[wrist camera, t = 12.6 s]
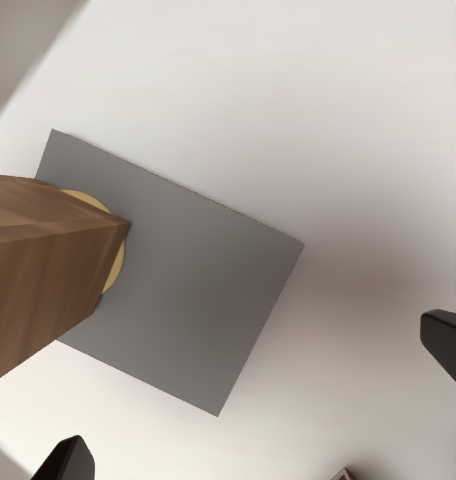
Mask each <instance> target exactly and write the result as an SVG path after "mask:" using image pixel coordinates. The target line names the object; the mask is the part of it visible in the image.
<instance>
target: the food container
mask: <svg viewBox="0 0 456 480" xmlns="http://www.w3.org/2000/svg"><path fill="white" fill-rule="evenodd" d="M332 480H356V479H355V477H354V476H353V475H352V474H351V473H350V472H349V471H348V470H347V469H346V468H343V469H342V470H341V471H340V472H339V473H338V474H337V475H336V476H335V477H334V478H333V479H332Z"/></svg>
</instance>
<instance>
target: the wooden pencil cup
mask: <svg viewBox="0 0 456 480" xmlns="http://www.w3.org/2000/svg"><path fill="white" fill-rule="evenodd" d="M129 225H130V222H127V221H125V220H123V219H121V218H119V217H117V216H115V215H112V214H110V213H108V212H106V211H104V210H102V209H100V208H97V207H95V206H93V205H91V204H89V203H87V202H85V201H83V200H80V199H78V198H76V197H74V196H72V195H70V194H68V193H65V192H63V191H61V190H59V189H57V188H55V187H53V186H50V185H48V184H46V183H44V182H42V181H40V180H38V179H32V178H23V177H15V176H6V175H0V378H1V377H2V376H4V375H5V374H6V373H8V372H9V371H11V370H12V369H14V368H15V367H17V366H18V365H20V364H21V363H22V362H24V361H25V360H27V359H28V358H30V357H31V356H33V355H34V354H35V353H37V352H38V351H40V350H41V349H43V348H44V347H46V346H47V345H49V344H50V343H51V342H53V341H54V340H56V339H57V338H59V337H60V336H62V335H63V334H64V333H66V332H67V331H69V330H70V329H72V328H73V327H75V326H76V325H78V324H79V323H80V322H82V321H83V320H85V319H86V318H88V317H89V316H91V315H92V314H94V311H95V309H96V306H97V304H98V301H99V299H100V296H101V294H102V291H103V289H104V287H105V284H106V282H107V279H108V277H109V274H110V272H111V269H112V267H113V264H114V262H115V259H116V257H117V254H118V252H119V249H120V247H121V245H122V242H123V240H124V237H125V235H126V232H127V230H128V227H129Z"/></svg>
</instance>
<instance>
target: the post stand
mask: <svg viewBox="0 0 456 480" xmlns="http://www.w3.org/2000/svg"><path fill="white" fill-rule="evenodd" d="M35 179H38V180H40V181H42V182H44V183H46V184H48V185H50V186H53V187H55V188H57V189H59V190H61V191H63V192H65V193H68V194H70V195H72V196H74V197H76V198H78V199H80V200H83V201H85V202H87V203H89V204H91V205H93V206H95V207H97V208H100V209H102V210H104V211H106V212H108V213H110V214H112V215H115V216H117V217H119V218H121V219H123V220H125V221H127V222H130V225H129V227H128V230H127V232H126V235H125V237H124V240H123V242H122V245H121V247H120V249H119V252H118V254H117V257H116V259H115V262H114V264H113V267H112V269H111V272H110V274H109V277H108V279H107V282H106V284H105V287H104V289H103V291H102V294H101V296H100V299H99V301H98V304H97V306H96V309H95V311H94V314H92V315H91V316H89V317H88V318H86V319H85V320H83V321H82V322H80V323H79V324H78V325H76V326H75V327H73V328H72V329H70V330H69V331H67V332H66V333H64V334H63V335H62V336H60V337H59V338H57V339H56V340H58V341H60V342H62V343H64V344H66V345H68V346H70V347H72V348H74V349H77V350H79V351H81V352H83V353H85V354H87V355H89V356H91V357H93V358H95V359H97V360H100V361H102V362H104V363H106V364H108V365H110V366H112V367H114V368H116V369H118V370H120V371H123V372H125V373H127V374H129V375H131V376H133V377H135V378H137V379H139V380H141V381H143V382H145V383H148V384H150V385H152V386H154V387H156V388H158V389H160V390H162V391H164V392H166V393H168V394H171V395H173V396H175V397H177V398H179V399H181V400H183V401H185V402H187V403H189V404H191V405H193V406H196V407H198V408H200V409H202V410H204V411H206V412H208V413H210V414H212V415H214V416H216V417H218V416H219V414H220V412H221V410H222V408H223V406H224V404H225V402H226V400H227V398H228V396H229V394H230V392H231V390H232V388H233V386H234V384H235V382H236V380H237V378H238V376H239V374H240V372H241V370H242V368H243V366H244V364H245V362H246V360H247V358H248V356H249V354H250V352H251V350H252V348H253V346H254V344H255V342H256V340H257V338H258V336H259V334H260V332H261V330H262V328H263V326H264V324H265V322H266V320H267V318H268V316H269V314H270V312H271V310H272V308H273V306H274V304H275V302H276V300H277V298H278V296H279V294H280V292H281V290H282V288H283V286H284V284H285V282H286V280H287V278H288V276H289V274H290V272H291V270H292V268H293V266H294V264H295V262H296V260H297V258H298V256H299V254H300V252H301V250H302V248H303V246H304V244H303V243H301V242H300V241H298V240H296V239H294V238H291V237H289V236H287V235H285V234H283V233H281V232H278V231H276V230H274V229H272V228H270V227H268V226H265V225H263V224H261V223H259V222H257V221H254V220H252V219H250V218H248V217H246V216H244V215H241V214H239V213H237V212H235V211H233V210H231V209H228V208H226V207H224V206H222V205H220V204H218V203H215V202H213V201H211V200H209V199H207V198H205V197H202V196H200V195H198V194H196V193H194V192H191V191H189V190H187V189H185V188H183V187H181V186H178V185H176V184H174V183H172V182H170V181H168V180H165V179H163V178H161V177H159V176H157V175H155V174H152V173H150V172H148V171H146V170H144V169H142V168H139V167H137V166H135V165H133V164H131V163H129V162H126V161H124V160H122V159H120V158H118V157H115V156H113V155H111V154H109V153H107V152H105V151H102V150H100V149H98V148H96V147H94V146H92V145H89V144H87V143H85V142H83V141H81V140H79V139H76V138H74V137H72V136H70V135H68V134H65V133H62V132H60V131H57V130H54V129H52V130H51V133H50V136H49V139H48V142H47V145H46V148H45V150H44V153H43V156H42V159H41V162H40V165H39V168H38V171H37V174H36V177H35Z"/></svg>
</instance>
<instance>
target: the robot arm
mask: <svg viewBox="0 0 456 480" xmlns="http://www.w3.org/2000/svg"><path fill="white" fill-rule="evenodd" d="M420 339H421V342H422V344H423V345H424V347H425V348H426V349H427V350H428V351H429V353H430V354H431V355H432V356H433V357H434V358H435V359H436V360H437V361H438V363H439V364H440V365H441V366H442V367H443V368H444V369H445V370H446V371H447V373H448V374H449V375H450V376H451V377H452V378H453V379H454V380H455V381H456V313H452V312H448V311H444V310H440V309H434V310H431V311H428V312H425V313H423V314H422V316H421V322H420ZM94 478H95V463H94V459H93V456H92V454H91V453H90V451H89V449H88V447H87V445H86V443H85V442H84V440H83V438H82V437H81V436H79V435H76V436H73V437H70V438H67V439H64V440H62V441H60V442H59V443H58V444H57V445H56V447H55V448H54V449H53V451H52V452H51V453H50V455H49V456H48V457H47V458H46V460H45V461H44V462H43V464H42V465H41V466H40V468H39V469H38V470H37V472H36V473H35V474H34V476H33V477H32V478H31V480H94Z"/></svg>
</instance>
